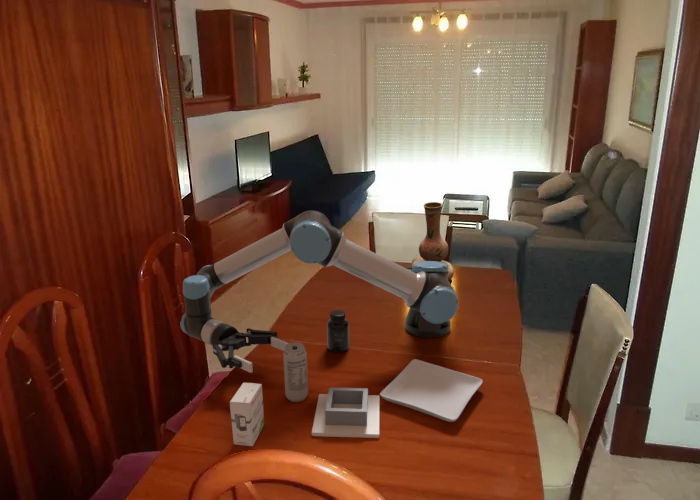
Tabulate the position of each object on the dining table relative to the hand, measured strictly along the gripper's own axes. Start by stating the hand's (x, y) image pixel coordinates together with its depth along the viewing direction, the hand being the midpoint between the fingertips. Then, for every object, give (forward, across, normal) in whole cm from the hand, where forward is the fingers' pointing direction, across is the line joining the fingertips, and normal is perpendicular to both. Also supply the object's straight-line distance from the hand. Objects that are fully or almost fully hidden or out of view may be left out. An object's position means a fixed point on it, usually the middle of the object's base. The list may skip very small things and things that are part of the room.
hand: (270, 357), depth 145 cm
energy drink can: (+10, 0, -9) cm, 13 cm away
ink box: (+11, +18, -9) cm, 23 cm away
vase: (-1, -88, -9) cm, 88 cm away
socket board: (+26, -2, -8) cm, 27 cm away
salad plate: (+38, -22, -9) cm, 45 cm away
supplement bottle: (+1, -27, -9) cm, 29 cm away
